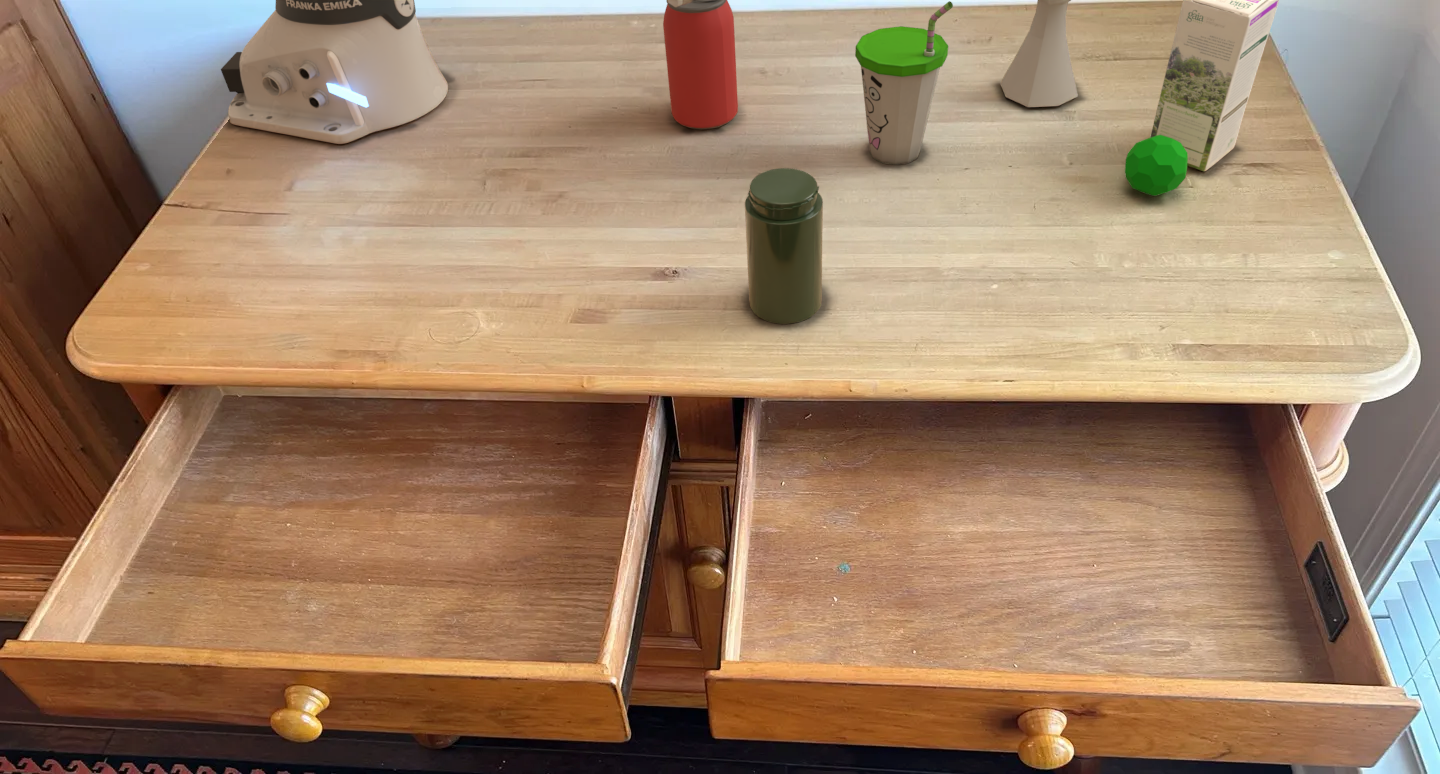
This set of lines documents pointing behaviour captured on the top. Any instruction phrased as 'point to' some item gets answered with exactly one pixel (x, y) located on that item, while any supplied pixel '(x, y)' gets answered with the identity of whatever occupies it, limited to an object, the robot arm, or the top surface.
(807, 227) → the jar
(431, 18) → the top surface
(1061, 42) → the flask
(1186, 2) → the syrup box
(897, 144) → the cup
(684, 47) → the beer can
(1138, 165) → the polyhedron
